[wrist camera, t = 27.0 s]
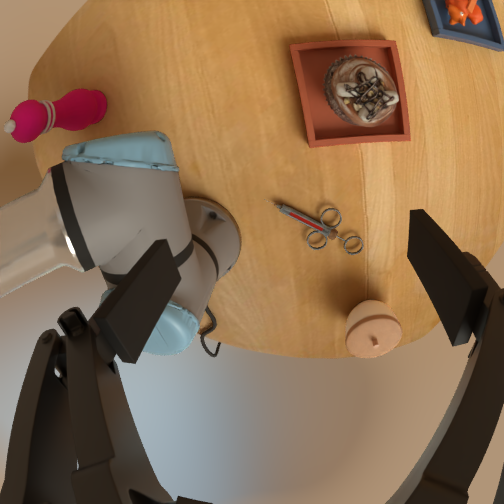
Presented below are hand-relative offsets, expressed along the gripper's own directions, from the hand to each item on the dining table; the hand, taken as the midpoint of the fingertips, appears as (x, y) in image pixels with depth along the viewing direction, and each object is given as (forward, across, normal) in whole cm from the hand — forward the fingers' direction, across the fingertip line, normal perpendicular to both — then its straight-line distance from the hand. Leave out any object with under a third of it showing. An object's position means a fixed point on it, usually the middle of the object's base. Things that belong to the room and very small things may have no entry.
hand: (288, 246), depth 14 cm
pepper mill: (+29, +31, -16) cm, 45 cm away
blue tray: (+29, -33, -25) cm, 50 cm away
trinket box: (+29, -11, +32) cm, 44 cm away
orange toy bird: (+28, -33, -24) cm, 50 cm away
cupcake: (+28, -10, -8) cm, 31 cm away
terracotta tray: (+29, -10, -8) cm, 31 cm away
